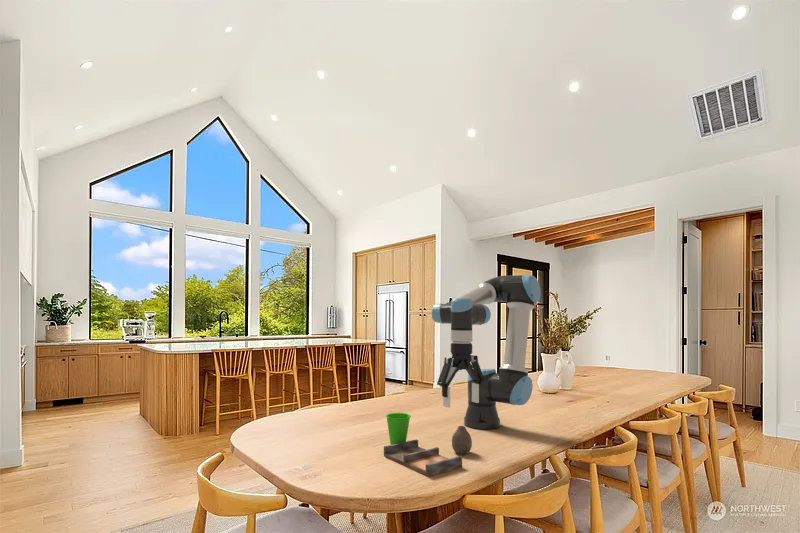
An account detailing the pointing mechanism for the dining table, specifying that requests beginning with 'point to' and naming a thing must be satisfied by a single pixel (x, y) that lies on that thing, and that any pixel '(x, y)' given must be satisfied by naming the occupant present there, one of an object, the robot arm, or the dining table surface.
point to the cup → (398, 427)
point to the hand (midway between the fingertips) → (461, 404)
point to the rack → (421, 458)
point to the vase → (461, 441)
